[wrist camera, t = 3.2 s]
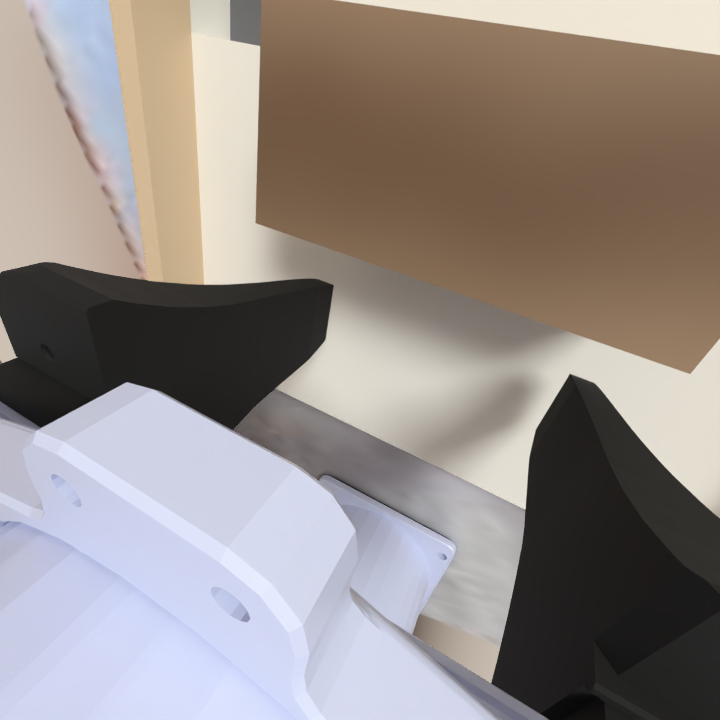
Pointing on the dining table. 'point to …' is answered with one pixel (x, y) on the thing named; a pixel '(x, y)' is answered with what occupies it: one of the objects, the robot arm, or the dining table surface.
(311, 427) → the dining table surface
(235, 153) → the shallow cream tray
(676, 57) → the walnut block
